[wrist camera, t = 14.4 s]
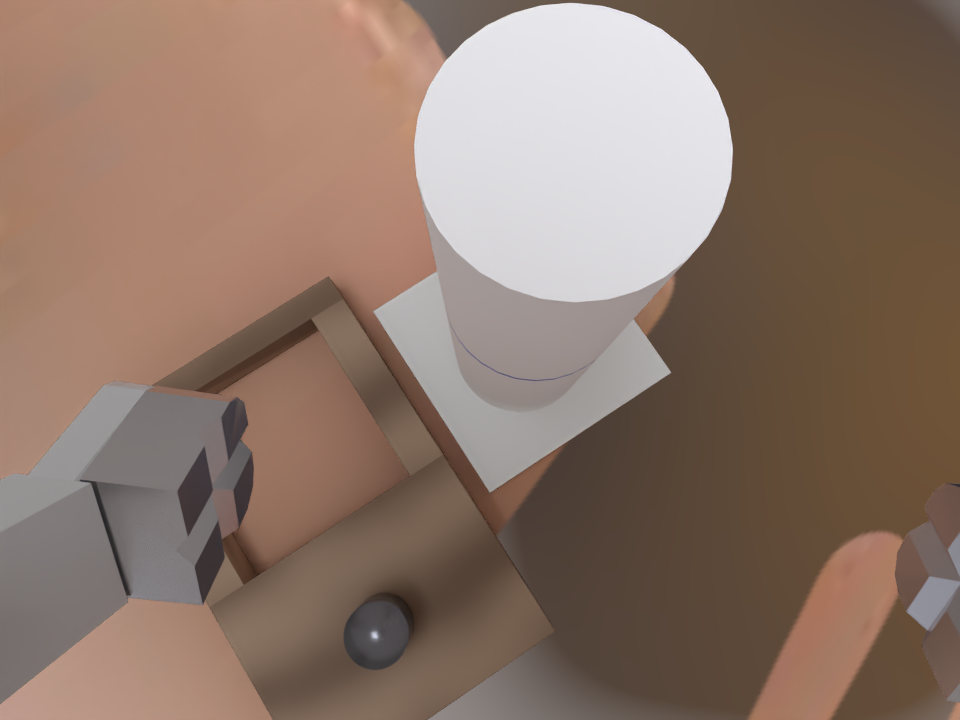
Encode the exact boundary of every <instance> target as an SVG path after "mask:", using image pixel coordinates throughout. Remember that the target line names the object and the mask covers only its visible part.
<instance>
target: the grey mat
mask: <svg viewBox="0 0 960 720" xmlns="http://www.w3.org/2000/svg"><path fill="white" fill-rule="evenodd" d="M373 312H374V313H375V315H376V317H377V318H378V320H379V321H380V323H381V324H382V326H383V327H384V329H385V331H386V332H387V334H388V335H389V337H390V338H391V340H392V341H393V343H394V345H395V346H396V348H397V349H398V351H399V352H400V354H401V355H402V357H403V359H404V360H405V362H406V363H407V365H408V366H409V368H410V369H411V371H412V373H413V374H414V376H415V377H416V379H417V380H418V382H419V383H420V385H421V387H422V388H423V390H424V391H425V393H426V394H427V396H428V397H429V399H430V400H431V402H432V404H433V405H434V407H435V408H436V410H437V411H438V413H439V414H440V416H441V418H442V419H443V421H444V422H445V424H446V425H447V427H448V428H449V430H450V432H451V433H452V435H453V436H454V438H455V439H456V441H457V442H458V444H459V446H460V447H461V449H462V450H463V452H464V453H465V455H466V456H467V458H468V460H469V461H470V463H471V464H472V466H473V467H474V469H475V470H476V472H477V474H478V475H479V477H480V478H481V480H482V481H483V483H484V484H485V486H486V488H487V489H488V491H489V492H492V491H493V490H495V489H496V488H498V487H499V486H501V485H502V484H504V483H506V482H507V481H509V480H510V479H512V478H513V477H515V476H516V475H518V474H519V473H521V472H522V471H524V470H525V469H527V468H528V467H530V466H531V465H533V464H534V463H536V462H537V461H539V460H540V459H542V458H543V457H545V456H546V455H548V454H549V453H551V452H552V451H554V450H555V449H557V448H558V447H560V446H561V445H563V444H564V443H566V442H567V441H569V440H570V439H572V438H573V437H575V436H576V435H578V434H579V433H581V432H582V431H584V430H585V429H587V428H589V427H590V426H592V425H593V424H595V423H596V422H597V421H599V420H601V419H602V418H603V417H605V416H607V415H608V414H609V413H611V412H613V411H614V410H616V409H617V408H619V407H620V406H622V405H623V404H624V403H626V402H628V401H629V400H631V399H632V398H634V397H635V396H637V395H638V394H640V393H641V392H643V391H644V390H646V389H647V388H649V387H650V386H652V385H653V384H655V383H656V382H658V381H659V380H661V379H662V378H664V377H665V376H667V375H668V374H670V373H671V371H670V370H669V369H668V367H667V366H666V364H665V363H664V362H663V360H662V359H661V357H660V356H659V354H658V353H657V352H656V350H655V349H654V347H653V346H652V344H651V343H650V342H649V340H648V339H647V337H646V336H645V334H644V333H643V332H642V330H641V329H640V327H639V326H638V325H637V323H636V322H635V320H634V319H633V320H632V321H631V322H630V323H629V325H628V326H627V327H626V328H625V329H624V330H623V331H622V332H621V333H620V335H619V336H618V337H617V338H616V339H615V340H614V341H613V342H612V343H611V344H610V346H609V347H608V348H607V349H606V350H605V351H604V352H603V353H602V354H601V355H600V356H599V357H598V359H597V360H596V361H595V362H594V363H593V364H592V365H591V366H590V367H589V368H588V370H587V371H586V372H585V373H584V374H583V375H582V376H581V377H580V378H579V379H578V381H577V382H576V383H575V384H574V385H573V386H572V387H571V388H570V389H569V390H568V392H567V393H566V394H565V395H564V396H562V397H561V398H560V399H559V400H557V401H556V402H554V403H552V404H551V405H549V406H547V407H545V408H541V409H538V410H535V411H528V412H513V411H506V410H503V409H500V408H497V407H494V406H492V405H490V404H488V403H487V402H485V401H483V400H482V399H481V398H479V397H478V396H477V395H476V394H475V393H474V392H473V391H472V390H471V389H470V387H469V386H468V385H467V384H466V382H465V380H464V378H463V376H462V374H461V372H460V369H459V366H458V363H457V359H456V354H455V350H454V345H453V341H452V336H451V331H450V327H449V322H448V318H447V313H446V309H445V304H444V300H443V295H442V291H441V286H440V281H439V277H438V272H437V271H436V272H435V273H433V274H432V275H430V276H428V277H427V278H425V279H424V280H422V281H420V282H419V283H417V284H416V285H414V286H412V287H411V288H409V289H408V290H406V291H404V292H403V293H401V294H400V295H398V296H397V297H395V298H393V299H392V300H390V301H389V302H387V303H385V304H384V305H382V306H381V307H379V308H377V309H376V310H374V311H373Z"/></svg>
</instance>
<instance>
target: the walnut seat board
mask: <svg viewBox="0 0 960 720" xmlns="http://www.w3.org/2000/svg"><path fill="white" fill-rule="evenodd" d="M318 330H319V332H320V333H321V335H322V336H323V338H324V340H325V341H326V343H327V344H328V346H329V348H330V349H331V351H332V352H333V354H334V356H335V357H336V359H337V360H338V362H339V364H340V365H341V367H342V368H343V370H344V371H345V373H346V375H347V376H348V378H349V379H350V381H351V383H352V384H353V386H354V387H355V389H356V391H357V392H358V394H359V395H360V397H361V399H362V400H363V402H364V403H365V405H366V407H367V408H368V410H369V411H370V413H371V414H372V416H373V418H374V419H375V421H376V422H377V424H378V426H379V427H380V429H381V430H382V432H383V434H384V435H385V437H386V438H387V440H388V442H389V443H390V445H391V446H392V448H393V449H394V451H395V453H396V454H397V456H398V457H399V459H400V461H401V462H402V464H403V465H404V467H405V469H406V470H407V472H408V473H409V475H410V477H408V478H406V479H405V480H403V481H402V482H400V483H399V484H397V485H396V486H394V487H393V488H391V489H390V490H388V491H387V492H385V493H384V494H382V495H380V496H379V497H377V498H376V499H374V500H373V501H371V502H370V503H368V504H367V505H365V506H364V507H362V508H361V509H359V510H358V511H356V512H354V513H353V514H351V515H350V516H348V517H347V518H345V519H344V520H342V521H341V522H339V523H338V524H336V525H335V526H333V527H331V528H330V529H328V530H327V531H325V532H324V533H322V534H321V535H319V536H318V537H316V538H315V539H313V540H312V541H310V542H309V543H307V544H305V545H304V546H302V547H301V548H299V549H298V550H296V551H295V552H293V553H292V554H290V555H289V556H287V557H286V558H284V559H282V560H281V561H279V562H278V563H276V564H275V565H273V566H272V567H270V568H269V569H267V570H266V571H264V572H263V573H261V574H260V575H258V576H257V575H256V574H255V572H254V570H253V569H252V567H251V565H250V563H249V562H248V560H247V558H246V557H245V555H244V553H243V551H242V550H241V548H240V546H239V544H238V543H237V541H236V539H235V538H234V536H233V534H232V533H231V534H229V535H228V536H226V537H225V538H223V539H222V543H223V549H224V555H225V559H224V561H223V563H222V565H221V568H220V570H219V572H218V574H217V576H216V578H215V580H214V582H213V584H212V587H211V589H210V591H209V593H208V595H207V597H206V599H205V601H206V602H207V604H208V606H209V608H210V609H211V611H212V613H213V615H214V616H215V618H216V620H217V622H218V623H219V625H220V627H221V629H222V631H223V632H224V634H225V636H226V638H227V639H228V641H229V643H230V645H231V646H232V648H233V650H234V652H235V653H236V655H237V657H238V659H239V661H240V662H241V664H242V666H243V668H244V669H245V671H246V673H247V675H248V676H249V678H250V680H251V682H252V683H253V685H254V687H255V689H256V691H257V692H258V694H259V696H260V698H261V699H262V701H263V703H264V705H265V706H266V708H267V710H268V712H269V714H270V715H271V717H272V719H273V720H427V719H429V718H430V717H432V716H433V715H435V714H436V713H437V712H439V711H441V710H442V709H444V708H445V707H447V706H448V705H449V704H451V703H452V702H454V701H455V700H457V699H458V698H460V697H461V696H462V695H464V694H465V693H467V692H468V691H470V690H471V689H473V688H474V687H476V686H477V685H478V684H480V683H481V682H483V681H484V680H485V679H487V678H489V677H490V676H492V675H493V674H494V673H496V672H497V671H499V670H500V669H502V668H503V667H505V666H506V665H508V664H509V663H510V662H512V661H513V660H515V659H516V658H518V657H519V656H521V655H522V654H524V653H525V652H526V651H528V650H529V649H531V648H532V647H534V646H535V645H537V644H538V643H540V642H541V641H542V640H544V639H545V638H547V637H548V636H550V635H551V634H552V633H554V632H555V630H554V628H553V626H552V623H551V622H550V620H549V619H548V617H547V615H546V614H545V612H544V611H543V609H542V608H541V606H540V604H539V603H538V601H537V600H536V598H535V597H534V595H533V593H532V592H531V590H530V589H529V587H528V586H527V584H526V583H525V581H524V580H523V578H522V576H521V575H520V573H519V572H518V570H517V568H516V567H515V565H514V564H513V562H512V561H511V559H510V558H509V556H508V554H507V553H506V551H505V550H504V548H503V546H502V545H501V543H500V542H499V540H498V539H497V537H496V536H495V534H494V532H493V531H492V529H491V528H490V526H489V525H488V523H487V521H486V520H485V518H484V517H483V515H482V514H481V512H480V510H479V509H478V507H477V506H476V504H475V503H474V501H473V500H472V498H471V496H470V495H469V493H468V492H467V490H466V489H465V487H464V485H463V484H462V482H461V481H460V479H459V478H458V476H457V474H456V473H455V471H454V470H453V468H452V467H451V465H450V463H449V462H448V460H447V459H446V457H445V456H444V454H443V453H442V451H441V449H440V448H439V446H438V445H437V443H436V442H435V440H434V438H433V437H432V435H431V434H430V432H429V431H428V429H427V427H426V426H425V424H424V423H423V421H422V420H421V418H420V417H419V415H418V413H417V412H416V410H415V409H414V407H413V406H412V404H411V402H410V401H409V399H408V398H407V396H406V395H405V393H404V391H403V390H402V388H401V387H400V385H399V384H398V382H397V381H396V379H395V377H394V376H393V374H392V373H391V371H390V370H389V368H388V366H387V365H386V363H385V362H384V360H383V359H382V357H381V355H380V354H379V352H378V351H377V349H376V348H375V346H374V344H373V343H372V341H371V340H370V338H369V337H368V335H367V334H366V332H365V330H364V329H363V327H362V326H361V324H360V323H359V321H358V319H357V318H356V316H355V315H354V313H353V312H352V310H351V308H350V307H349V305H348V304H347V302H346V301H345V299H344V298H343V296H342V294H341V293H340V291H339V290H338V288H337V287H336V285H335V284H334V283H333V281H332V280H331V279H330V277H329V276H328V277H327V278H325V279H323V280H322V281H320V282H319V283H317V284H315V285H314V286H312V287H310V288H309V289H307V290H306V291H304V292H302V293H301V294H299V295H298V296H296V297H294V298H293V299H291V300H289V301H288V302H286V303H285V304H283V305H281V306H280V307H278V308H277V309H275V310H273V311H272V312H270V313H268V314H267V315H265V316H264V317H262V318H260V319H259V320H257V321H256V322H254V323H252V324H251V325H249V326H247V327H246V328H244V329H243V330H241V331H239V332H238V333H236V334H235V335H233V336H231V337H230V338H228V339H226V340H225V341H223V342H222V343H220V344H218V345H217V346H215V347H214V348H212V349H210V350H209V351H207V352H205V353H204V354H202V355H201V356H199V357H197V358H196V359H194V360H193V361H191V362H189V363H188V364H186V365H184V366H183V367H181V368H180V369H178V370H176V371H175V372H173V373H172V374H170V375H168V376H167V377H165V378H163V379H162V380H160V381H159V382H157V383H155V384H154V385H152V386H154V387H155V386H162V387H169V388H176V389H183V390H190V391H197V392H204V393H211V394H217V393H218V392H220V391H222V390H223V389H225V388H226V387H228V386H230V385H231V384H233V383H234V382H236V381H238V380H239V379H241V378H242V377H244V376H246V375H247V374H249V373H250V372H252V371H254V370H255V369H257V368H258V367H260V366H262V365H263V364H265V363H266V362H268V361H270V360H271V359H273V358H274V357H276V356H278V355H279V354H281V353H282V352H284V351H286V350H287V349H289V348H290V347H292V346H294V345H295V344H297V343H298V342H300V341H302V340H303V339H305V338H306V337H308V336H310V335H311V334H313V333H314V332H316V331H318Z"/></svg>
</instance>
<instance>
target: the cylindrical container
mask: <svg viewBox="0 0 960 720" xmlns="http://www.w3.org/2000/svg"><path fill="white" fill-rule="evenodd" d="M414 152H415V165H416V177H417V181H418V186H419V190H420V195H421V199H422V204H423V209H424V213H425V218H426V222H427V227H428V231H429V236H430V240H431V245H432V250H433V254H434V259H435V263H436V268H437V272H438V277H439V281H440V286H441V291H442V295H443V300H444V304H445V309H446V313H447V318H448V322H449V327H450V331H451V336H452V341H453V345H454V350H455V354H456V359H457V363H458V366H459V369H460V372H461V374H462V376H463V378H464V380H465V382H466V384H467V385H468V386H469V387H470V389H471V390H472V391H473V392H474V393H475V394H476V395H477V396H478V397H479V398H481V399H482V400H483V401H485V402H487V403H488V404H490V405H492V406H494V407H497V408H500V409H503V410H506V411H513V412H528V411H535V410H538V409H541V408H545V407H547V406H549V405H551V404H552V403H554V402H556V401H557V400H559V399H560V398H561V397H562V396H564V395H565V394H566V393H567V392H568V390H569V389H570V388H571V387H572V386H573V385H574V384H575V383H576V382H577V381H578V379H579V378H580V377H581V376H582V375H583V374H584V373H585V372H586V371H587V370H588V368H589V367H590V366H591V365H592V364H593V363H594V362H595V361H596V360H597V359H598V357H599V356H600V355H601V354H602V353H603V352H604V351H605V350H606V349H607V348H608V347H609V346H610V344H611V343H612V342H613V341H614V340H615V339H616V338H617V337H618V336H619V335H620V333H621V332H622V331H623V330H624V329H625V328H626V327H627V326H628V325H629V323H630V322H631V321H632V320H633V319H634V318H635V317H636V316H637V315H638V314H639V312H640V311H641V310H642V309H643V308H644V307H645V306H646V305H647V304H648V302H649V301H650V300H651V299H652V298H653V297H654V296H655V295H656V294H657V292H658V291H659V290H660V289H661V288H662V287H663V286H664V285H665V284H666V283H667V281H668V280H669V279H670V278H671V277H672V276H673V275H674V274H675V273H676V271H677V270H678V269H679V268H680V267H681V266H682V265H683V263H684V262H685V261H686V260H687V259H688V258H689V257H690V256H691V255H692V254H693V252H694V251H695V250H696V249H697V247H698V246H699V245H700V244H701V243H702V242H703V241H704V240H705V238H706V237H707V236H708V234H709V232H710V230H711V229H712V227H713V225H714V223H715V221H716V220H717V218H718V216H719V214H720V212H721V210H722V208H723V205H724V201H725V198H726V194H727V191H728V187H729V184H730V181H731V169H732V152H733V147H732V141H731V135H730V129H729V121H728V117H727V115H726V112H725V109H724V107H723V104H722V101H721V99H720V96H719V93H718V91H717V89H716V88H715V86H714V85H713V83H712V81H711V80H710V78H709V77H708V75H707V73H706V72H705V70H704V69H703V67H702V66H701V65H700V64H699V63H698V62H697V61H696V60H695V58H694V57H693V56H692V55H691V54H690V53H689V52H688V50H687V49H686V48H685V47H684V46H682V45H681V44H680V43H678V42H677V41H676V40H675V39H673V38H672V37H671V36H669V35H668V34H667V33H665V32H664V31H663V30H662V29H660V28H658V27H656V26H654V25H652V24H650V23H648V22H646V21H644V20H642V19H640V18H638V17H636V16H634V15H632V14H628V13H625V12H621V11H618V10H614V9H611V8H608V7H605V6H597V5H586V4H577V3H565V4H554V5H542V6H538V7H534V8H530V9H526V10H523V11H520V12H515V13H512V14H510V15H508V16H506V17H504V18H502V19H499V20H497V21H495V22H493V23H491V24H489V25H487V26H486V27H484V28H483V29H481V30H480V31H478V32H477V33H476V34H474V35H473V36H471V37H470V38H469V39H467V40H466V41H465V42H464V43H463V44H462V45H461V46H460V47H459V48H458V49H457V50H456V51H455V52H454V53H453V54H452V55H451V56H450V57H449V58H448V59H447V60H446V61H445V62H444V64H443V66H442V67H441V69H440V70H439V72H438V73H437V75H436V77H435V78H434V80H433V81H432V83H431V84H430V86H429V88H428V91H427V93H426V96H425V99H424V101H423V104H422V107H421V109H420V112H419V115H418V121H417V128H416V135H415V142H414Z"/></svg>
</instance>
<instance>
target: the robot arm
mask: <svg viewBox="0 0 960 720" xmlns="http://www.w3.org/2000/svg"><path fill="white" fill-rule="evenodd" d="M247 425H248V421H247V415H246V410H245V404H244V402H243V401H242V400H240V399H239V398H238V397H232V396H225V395H218V394H211V393H204V392H197V391H190V390H183V389H176V388H169V387H162V386H155V387H154V386H150V385H143V384H136V383H129V382H122V381H113V382H110V383H108V384H105V385H103V386H102V387H101V388H100V389H99V391H98V392H97V393H96V394H95V395H94V397H93V398H92V399H91V400H90V401H89V403H88V404H87V405H86V406H85V407H84V408H83V410H82V411H81V412H80V413H79V414H78V416H77V417H76V418H75V419H74V420H73V421H72V423H71V424H70V425H69V426H68V427H67V429H66V430H65V431H64V432H63V433H62V435H61V436H60V437H59V438H58V439H57V440H56V442H55V443H54V444H53V445H52V446H51V448H50V449H49V450H48V451H47V452H46V454H45V455H44V456H43V457H42V458H41V459H40V461H39V462H38V463H37V464H36V465H35V467H34V468H33V469H32V470H31V471H30V473H29V474H28V475H23V474H12V475H10V476H7V477H5V478H3V479H1V480H0V704H1V703H2V702H3V701H5V700H6V699H7V698H8V697H10V696H11V695H12V694H13V693H15V692H16V691H17V690H18V689H20V688H21V687H22V686H23V685H25V684H26V683H27V682H28V681H30V680H31V679H32V678H34V677H35V676H36V675H37V674H39V673H40V672H41V671H42V670H44V669H45V668H46V667H47V666H49V665H50V664H51V663H52V662H54V661H55V660H56V659H57V658H59V657H60V656H61V655H62V654H64V653H65V652H66V651H67V650H69V649H70V648H71V647H72V646H74V645H75V644H76V643H77V642H79V641H80V640H81V639H82V638H84V637H85V636H86V635H87V634H89V633H90V632H91V631H92V630H94V629H95V628H96V627H97V626H99V625H100V624H101V623H102V622H104V621H105V620H106V619H108V618H109V617H110V616H111V615H113V614H114V613H115V612H116V611H118V610H119V609H120V608H121V607H123V606H124V605H125V604H126V603H128V598H137V599H147V600H157V601H167V602H177V603H187V604H197V605H203V603H204V601H205V599H206V597H207V595H208V593H209V591H210V589H211V587H212V584H213V582H214V580H215V578H216V576H217V574H218V572H219V570H220V568H221V565H222V563H223V561H224V559H225V555H224V549H223V543H222V539H223V538H225V537H226V536H228V535H229V534H231V533H232V532H234V531H235V530H237V529H238V528H239V527H240V525H241V522H242V520H243V518H244V515H245V513H246V511H247V508H248V504H249V500H250V496H251V492H252V487H253V472H254V466H253V458H252V452H251V451H250V450H249V449H248V448H247V446H246V445H245V444H244V443H243V442H242V441H241V440H240V439H241V437H242V435H243V433H244V431H245V429H246V427H247ZM925 509H926V512H927V515H928V518H929V520H930V521H928V522H927V523H925V524H923V525H921V526H919V527H917V528H916V529H914V530H912V531H910V532H908V534H907V536H906V537H905V539H904V541H903V543H902V545H901V547H900V548H899V550H898V552H897V560H896V569H895V578H896V583H897V589H898V593H899V596H900V598H901V600H902V603H903V605H904V607H905V610H906V611H907V612H908V614H910V615H911V616H912V617H913V618H914V619H915V620H916V621H917V622H919V623H920V624H921V625H922V626H923V627H924V628H925V629H926V630H927V632H926V635H925V638H924V640H923V643H922V648H923V650H924V653H925V655H926V657H927V659H928V661H929V664H930V666H931V668H932V670H933V673H934V675H935V677H936V679H937V682H938V684H939V686H940V688H941V690H942V693H943V695H944V697H945V699H946V700H947V701H954V702H960V484H953V483H946V484H944V485H942V486H941V487H939V488H938V489H936V490H935V491H934V492H933V494H932V495H931V497H930V498H929V500H928V501H927V503H926V505H925Z"/></svg>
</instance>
